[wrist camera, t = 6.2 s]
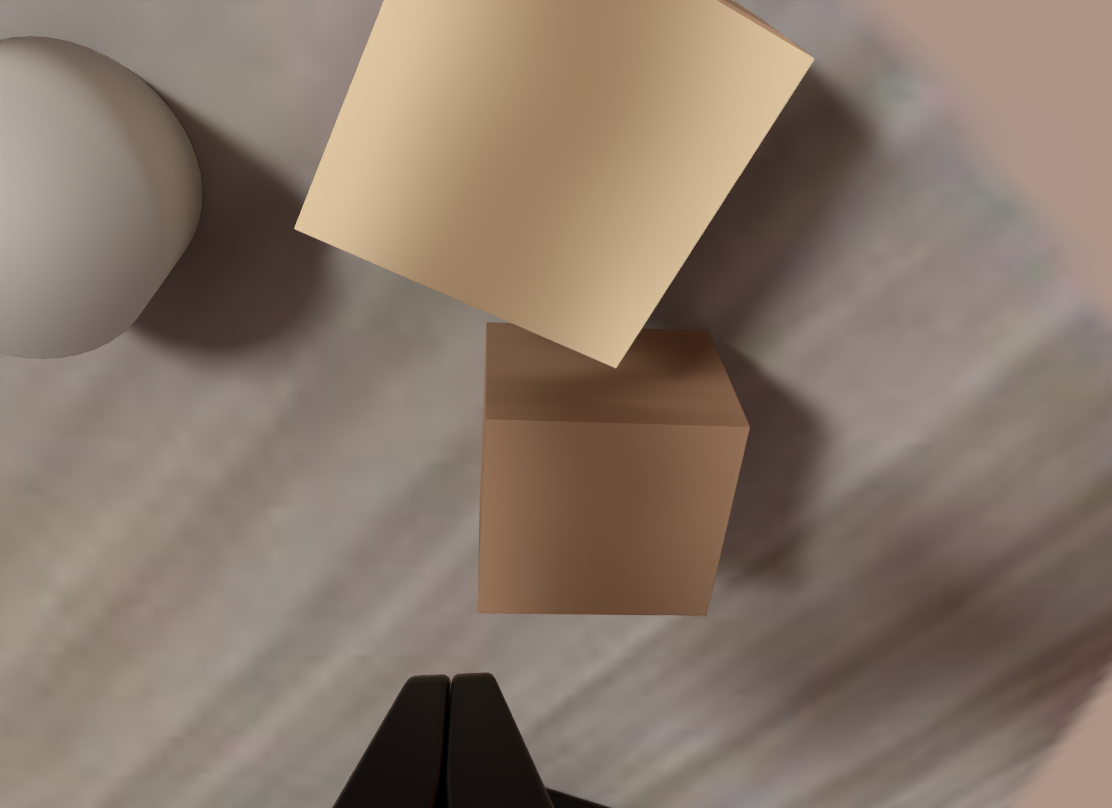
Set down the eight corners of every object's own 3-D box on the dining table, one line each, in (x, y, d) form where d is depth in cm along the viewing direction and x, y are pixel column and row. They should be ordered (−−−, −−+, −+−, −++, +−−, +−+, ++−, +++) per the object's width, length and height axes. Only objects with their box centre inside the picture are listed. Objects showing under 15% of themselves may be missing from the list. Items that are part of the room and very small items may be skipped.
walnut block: (708, 328, 20) (749, 427, 17) (675, 500, 23) (706, 615, 20) (486, 319, 20) (485, 419, 17) (480, 496, 23) (478, 613, 19)
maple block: (750, 10, 17) (814, 58, 14) (594, 274, 20) (616, 368, 16) (456, -167, 15) (447, -162, 12) (330, 151, 18) (293, 228, 14)
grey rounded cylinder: (241, 124, 17) (198, 175, 15) (157, 325, 20) (108, 400, 17) (-37, -21, 16) (-137, 9, 13) (-94, 216, 18) (-189, 281, 15)
